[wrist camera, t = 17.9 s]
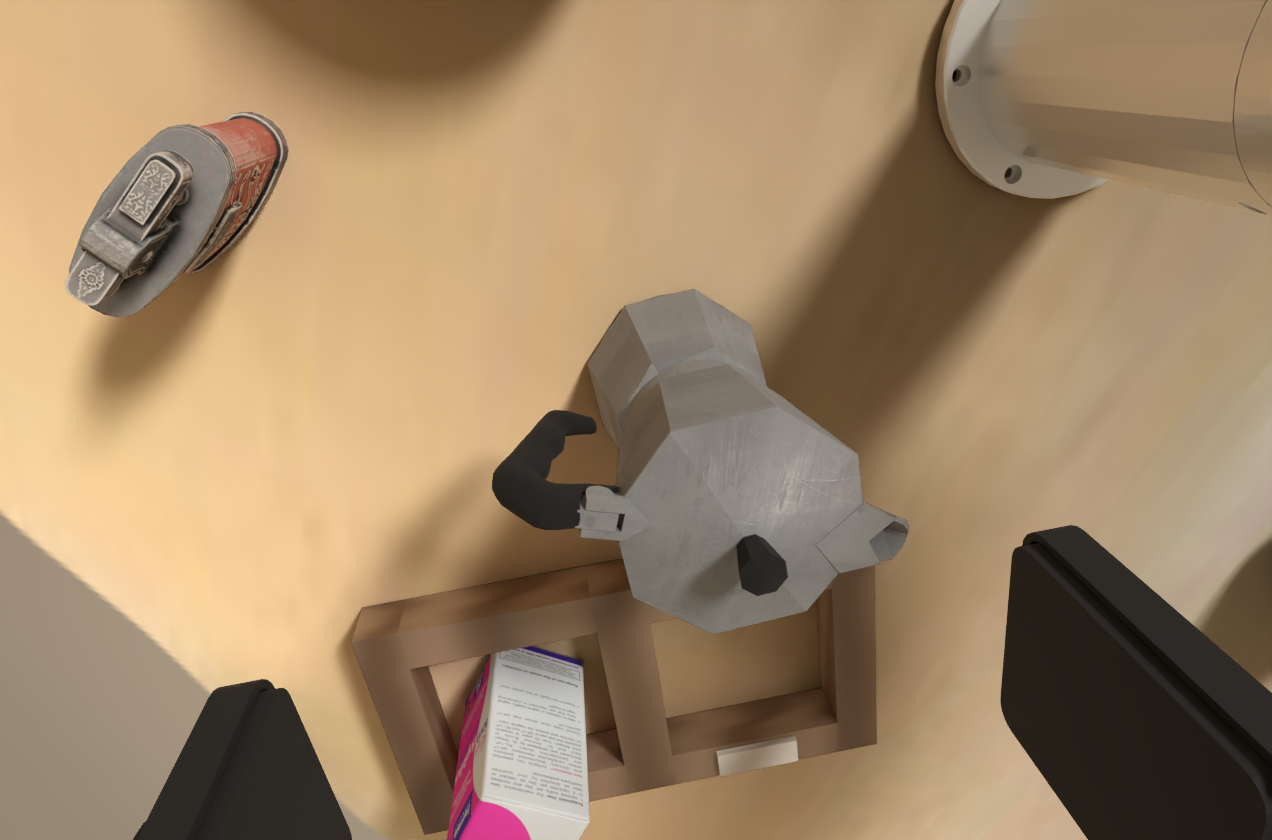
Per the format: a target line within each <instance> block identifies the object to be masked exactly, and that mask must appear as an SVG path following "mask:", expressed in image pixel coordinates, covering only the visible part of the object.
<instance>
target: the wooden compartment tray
mask: <svg viewBox="0 0 1272 840" xmlns="http://www.w3.org/2000/svg"><path fill="white" fill-rule="evenodd" d="M817 607H818V627H819V646H820V666H821V685H822V688H820V689H815V690H809V691H804V692H799V693H794V694H789V695H784V696H779V697H774V698H769V699H764V700H759V701H754V702H749V703H744V704H739V705H733V706H728V707H723V708H718V709H713V710H708V711H703V712H698V713H693V714H688V715H683V716H678V717H673V718H668V719H666V716H665V710H664V704H663V698H662V692H661V686H660V680H659V675H658V669H657V663H656V657H655V651H654V645H653V639H652V633H651V627H650V623H654V622H659V621H664V620H669V619H675V618H677V617H675V616H672V615H670V614H668V613H666V612H664V611H661V610H659V609H657V608H655V607H653V606H651V605H648V604H646V603H644V602H642V601H640V600H638V599H635V598H633V594H632V591H631V587H630V583H629V579H628V576H627V572H626V568H625V564H624V560H623V559H619V560H614V561H608V562H603V563H598V564H592V565H587V566H582V567H576V568H571V569H566V570H560V571H555V572H550V573H544V574H539V575H534V576H528V577H523V578H518V579H512V580H507V581H502V582H496V583H491V584H486V585H480V586H475V587H470V588H464V589H459V590H454V591H448V592H443V593H438V594H432V595H427V596H422V597H416V598H411V599H406V600H400V601H395V602H390V603H384V604H379V605H374V606H368V607H363V608H362V609H361V612H360V616H359V619H358V622H357V625H356V628H355V632H354V635H353V638H352V641H351V644H352V647H353V650H354V652H355V655H356V657H357V660H358V663H359V665H360V668H361V670H362V673H363V676H364V678H365V681H366V683H367V686H368V689H369V691H370V694H371V696H372V699H373V702H374V704H375V707H376V709H377V712H378V715H379V717H380V720H381V722H382V725H383V728H384V730H385V733H386V735H387V738H388V741H389V743H390V746H391V748H392V751H393V754H394V756H395V759H396V761H397V764H398V767H399V769H400V772H401V774H402V777H403V780H404V782H405V785H406V787H407V790H408V793H409V795H410V798H411V800H412V803H413V806H414V808H415V811H416V813H417V816H418V819H419V821H420V824H421V826H422V829H423V832H424V834H425V835H426V834H431V833H436V832H441V831H446V830H448V829H449V822H450V814H451V807H452V800H453V792H454V784H455V777H456V770H457V763H458V754H457V751H456V748H455V745H454V742H453V740H452V737H451V734H450V731H449V728H448V725H447V722H446V719H445V716H444V713H443V710H442V707H441V704H440V701H439V698H438V695H437V692H436V689H435V686H434V683H433V680H432V677H431V674H430V671H429V668H428V666H429V665H435V664H440V663H445V662H450V661H455V660H461V659H466V658H471V657H476V656H481V655H487V654H492V653H497V652H502V651H508V650H513V649H518V648H523V647H528V646H534V645H539V644H544V643H549V642H555V641H560V640H565V639H570V638H575V637H581V636H586V635H591V634H596V633H597V636H598V641H599V645H600V650H601V655H602V660H603V665H604V669H605V674H606V679H607V684H608V689H609V693H610V698H611V703H612V708H613V713H614V717H615V722H616V727H617V729H612V730H607V731H602V732H597V733H592V734H587V735H586V746H587V769H588V791H589V802H590V801H595V800H600V799H605V798H610V797H615V796H620V795H625V794H630V793H635V792H639V791H644V790H649V789H654V788H659V787H664V786H669V785H674V784H679V783H684V782H689V781H694V780H699V779H704V778H709V777H714V776H719V775H720V777H722V776H727V775H732V774H736V773H741V772H746V771H751V770H756V769H761V768H766V767H771V766H776V765H781V764H786V763H791V762H796V761H798V759H803V758H808V757H813V756H818V755H823V754H828V753H833V752H838V751H843V750H848V749H853V748H858V747H863V746H868V745H873V744H877V728H876V642H875V565H873V566H869V567H864V568H860V569H856V570H852V571H847V572H843V573H838V574H837V576H836V577H835V578H834V579H833V580H832V581H831V583H830V584H829V585H828V586H827V587H826V589H825V590H824V591H823V592H822V593H821V594H820V596H819V597H818V598H817Z"/></svg>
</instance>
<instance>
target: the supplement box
mask: <svg viewBox="0 0 1272 840" xmlns="http://www.w3.org/2000/svg"><path fill="white" fill-rule="evenodd" d="M589 822H590V813H589V791H588V769H587V746H586V726H585V705H584V681H583V661H582V660H579V659H576V658H573V657H570V656H566V655H563V654H559V653H555V652H552V651H548V650H544V649H541V648H538V647H534V646H528V647H523V648H518V649H513V650H508V651H502V652H497V653H492V654H490V656H489V659H488V661H487V663H486V665H485V667H484V669H483V671H482V673H481V675H480V677H479V679H478V681H477V683H476V685H475V687H474V689H473V691H472V693H471V694H470V696H469V698H468V700H467V701H466V704H465V712H464V719H463V726H462V733H461V740H460V748H459V755H458V763H457V770H456V777H455V784H454V792H453V800H452V807H451V814H450V822H449V829H448V836H447V840H579V839H580V837H581V835H582V833H583V832H584V830H585V829H586V827H587V825H588V824H589Z"/></svg>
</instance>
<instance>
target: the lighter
mask: <svg viewBox="0 0 1272 840" xmlns="http://www.w3.org/2000/svg"><path fill="white" fill-rule="evenodd" d="M288 151H289V149H288V144H287V140H286V138H285V136H284V134H283V132H282V131H281V129H280V128H279V127H278V126H277V125H276V124H275V123H274V122H273V121H272V120H270V119H268V118H267V117H265V116H263V115H261V114H257V113H253V112H243V113H237V114H233V115H231V116H230V117H228V118H226V119H225V120H224V121H223V122H219V123H214V124H209V125H205V126H200V127H198V126H194V125H191V124H187V125H176V126H171V127H168V128H166V129H164V130H162V131H160V132H159V133H157V134H156V135H155V136H154V137H153V138H152V139H151V140H150V141H149V142H148V143H147V144H146V145H144V146H143V147H142V148H141V149H140V150H139V151H138V152H137V153H136V154H135V155H134V156H133V157H132V158H130V159H129V160H128V162H127V163H126V164H125V165H124V167H123V168H122V169H121V170H120V172H119V173H118V174H117V175H116V177H115V178H114V179H113V180H112V182H111V183H110V184H109V185H108V187H107V188H106V189H105V190H104V192H103V193H102V194H101V196H100V198H99V200H98V202H97V204H96V206H95V208H94V210H93V211H92V213H91V215H90V217H89V219H88V221H87V223H86V225H85V226H84V228H83V230H82V233H81V236H80V239H79V241H78V244H77V247H76V250H75V253H74V256H73V259H72V261H71V264H70V267H69V276H68V277H67V279H66V282H65V289H66V290H67V292H68V293H69V294H70V295H71V296H73V297H74V298H75V299H77V300H78V301H80V302H82V303H84V304H86V305H88V306H89V307H91V308H92V309H94V310H96V311H98V312H100V313H102V314H104V315H109V316H114V317H126V316H130V315H132V314H134V313H136V312H138V311H140V310H141V309H143V308H144V307H146V306H147V305H148V304H149V303H151V302H152V301H153V300H154V299H155V298H156V297H157V296H159V295H160V294H161V293H162V292H163V291H164V290H165V289H167V288H168V287H169V286H170V285H171V284H172V283H173V282H175V281H176V280H178V279H180V278H181V277H183V276H184V275H186V274H188V273H197V272H199V271H201V270H203V269H204V268H206V267H208V266H209V265H211V264H212V263H213V262H214V261H215V260H217V259H218V258H219V257H220V256H221V255H222V254H223V253H225V252H226V251H227V250H228V249H229V248H230V247H231V246H233V245H234V244H235V243H236V242H237V240H238V239H239V238H240V237H241V236H242V235H243V233H244V232H245V231H246V230H247V229H248V228H249V226H250V225H251V224H252V223H253V222H254V221H255V220H256V218H257V217H258V215H259V213H260V212H261V210H262V208H263V207H264V205H265V203H266V202H267V200H268V198H269V197H270V195H271V193H272V192H273V190H274V188H275V186H276V183H277V181H278V179H279V176H280V174H281V172H282V169H283V167H284V165H285V162H286V160H287V156H288Z"/></svg>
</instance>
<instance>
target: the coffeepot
mask: <svg viewBox="0 0 1272 840" xmlns="http://www.w3.org/2000/svg"><path fill="white" fill-rule="evenodd" d="M587 365H588V369H589V373H590V377H591V381H592V385H593V389H594V393H595V397H596V401H597V405H598V409H599V412H600V416H601V420H602V424H603V426H604V428H605V429H606V431H607V432H608V434H609V435H610V437H611V438H612V440H613V442H614V443H615V445H616V446H617V448H618V449H619V456H618V465H617V475H616V485H615V486H607V485H595V484H557V483H551V482H548V481H547V480H545V479H546V478H547V476H548V474H549V471H550V467H551V461H552V460H553V459H554V458H556V457H557V456H558V455H559V454H560V453H561V452H562V451H563V448H564V443H565V436H569V435H579V434H593V433H596V429H597V427H596V423H595V421H594V419H592V418H591V417H587V416H583V415H579V414H576V413H572V412H568V411H560V410H553V411H550V412H548V413H547V414H546V415H545V416H544V417H543V418H542V419H541V420H540V421H539V422H538V423H537V425H536V426H535V427H534V428H533V429H532V430H531V432H530V433H529V434H528V435H527V436H526V437H525V438H524V439H523V440H522V441H521V442H520V444H519V445H518V446H517V447H516V448H515V450H514V451H513V452H512V453H511V454H510V455H509V456H508V457H507V458H506V459H505V460H504V461H503V462H502V463H501V464H500V465H499V466H498V467H497V469H496V470H495V472H494V473H493V480H492V490H493V492H494V494H495V496H496V498H497V500H498V501H499V502H500V504H501V505H502V506H503V507H505V508H506V509H508V510H509V511H511V512H512V513H514V514H515V515H517V516H518V517H520V518H521V519H523V520H524V521H526V522H527V523H529V524H530V525H532V526H533V527H536V528H540V529H543V530H561V529H571V528H579V529H580V537H583V538H594V539H605V540H616V541H619V545H620V549H621V553H622V557H623V560H624V564H625V568H626V572H627V576H628V579H629V583H630V587H631V591H632V594H633V598H635V599H638V600H640V601H642V602H644V603H646V604H648V605H651V606H653V607H655V608H657V609H659V610H661V611H664V612H666V613H668V614H670V615H672V616H675V617H677V618H679V619H681V620H683V621H685V622H688V623H690V624H692V625H694V626H696V627H698V628H701V629H703V630H705V631H707V632H709V633H711V634H717V633H721V632H725V631H729V630H733V629H737V628H741V627H745V626H749V625H753V624H757V623H761V622H765V621H769V620H773V619H777V618H781V617H785V616H789V615H794V614H798V613H802V612H806V611H807V610H808V609H809V607H810V606H811V605H812V604H813V603H814V602H815V600H816V599H817V598H818V597H819V596H820V594H821V593H822V592H823V591H824V590H825V589H826V587H827V586H828V585H829V584H830V583H831V581H832V580H833V579H834V578H835V577H836V576H837V574H838V573H843V572H847V571H852V570H856V569H860V568H864V567H869V566H873V565H877V564H880V562H879V561H884V560H890V559H892V558H893V557H894V556H895V555H896V554H897V553H898V552H899V550H900V549H901V548H902V546H903V544H904V542H905V539H906V536H907V533H908V530H909V525H908V523H907V521H906V520H904V519H902V518H899V517H897V516H895V515H892V514H890V513H888V512H885V511H883V510H881V509H878V508H876V507H874V506H871V505H869V504H867V503H865V502H863V500H862V489H861V479H860V468H859V458H858V454H857V453H856V452H854V451H853V450H852V449H850V448H849V447H848V446H846V445H845V444H844V443H842V442H841V441H840V440H839V439H837V438H836V437H835V436H833V435H832V434H831V433H829V432H828V431H827V430H825V429H824V428H823V427H821V426H820V425H819V424H817V423H816V422H815V421H814V420H812V419H811V418H810V417H808V416H807V415H806V414H804V413H803V412H802V411H800V410H799V409H798V408H796V407H795V406H794V405H792V404H791V403H790V402H789V401H787V400H786V399H785V398H783V397H782V396H780V395H779V394H777V393H776V392H774V391H773V390H771V389H769V388H768V387H767V385H766V380H765V376H764V372H763V368H762V365H761V361H760V357H759V354H758V350H757V346H756V342H755V339H754V335H753V331H752V328H751V324H749V323H748V322H746V321H744V320H743V319H741V318H740V317H738V316H737V315H735V314H734V313H732V312H731V311H729V310H728V309H726V308H725V307H723V306H722V305H720V304H718V303H716V302H714V301H713V300H711V299H709V298H708V297H706V296H705V295H703V294H702V293H700V292H698V291H697V290H695V289H692V290H688V291H684V292H679V293H675V294H668V295H660V296H657V297H654V298H651V299H648V300H645V301H642V302H638V303H634V304H630V305H625V306H624V308H623V309H622V311H621V312H620V314H619V315H618V317H617V318H616V320H615V321H614V323H613V324H612V325H611V326H610V328H609V329H608V330H607V332H606V333H605V335H604V337H603V339H602V340H601V342H600V344H599V346H598V348H597V349H596V351H595V352H594V354H593V355H592V357H591V358H590V360H589V361H588V363H587Z"/></svg>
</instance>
